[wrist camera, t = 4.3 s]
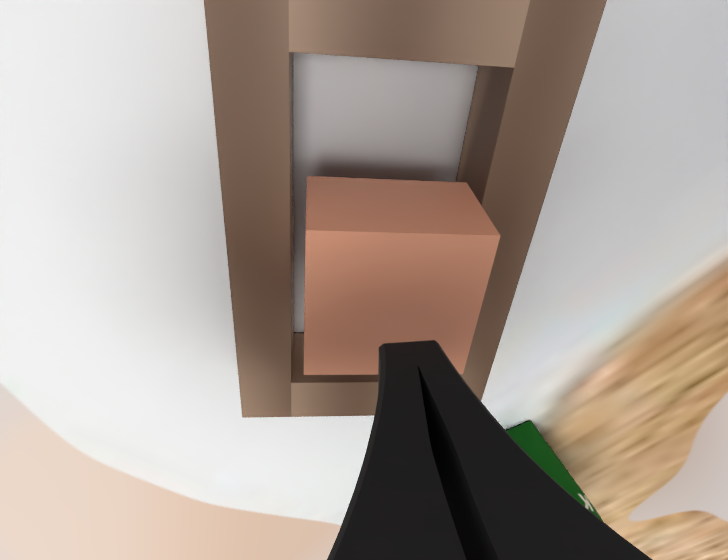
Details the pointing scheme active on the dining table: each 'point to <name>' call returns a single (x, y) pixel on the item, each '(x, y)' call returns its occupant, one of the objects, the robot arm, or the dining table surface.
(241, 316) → the brown ladder-shaped frame
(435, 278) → the salmon pink cube
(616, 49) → the dining table surface
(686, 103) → the dining table surface
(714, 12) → the dining table surface
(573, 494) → the milk carton
